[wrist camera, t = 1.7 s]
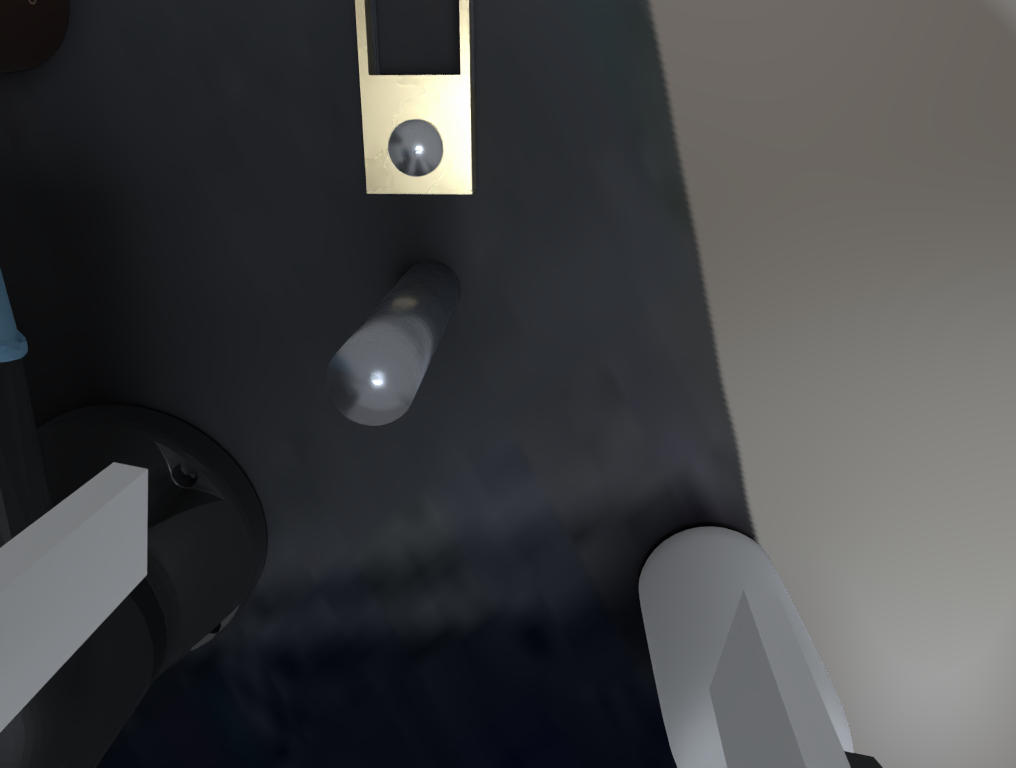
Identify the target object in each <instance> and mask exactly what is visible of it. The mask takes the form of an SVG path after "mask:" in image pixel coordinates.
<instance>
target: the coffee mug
mask: <svg viewBox="0 0 1016 768" xmlns="http://www.w3.org/2000/svg"><path fill="white" fill-rule="evenodd" d="M68 17H69V6H68V0H0V73H5V72H14V71H23V70H28V69H31V68H34V67H37V66H39V65H40V64H42V63H44V62H45V61H47V60H48V59H49V58H50V57H51V56H52V55H53V54H54V53H55V52H56V51H57V49H58V48H59V46H60V44H61V43H62V41H63V38H64V35H65V33H66V30H67V25H68Z"/></svg>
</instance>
